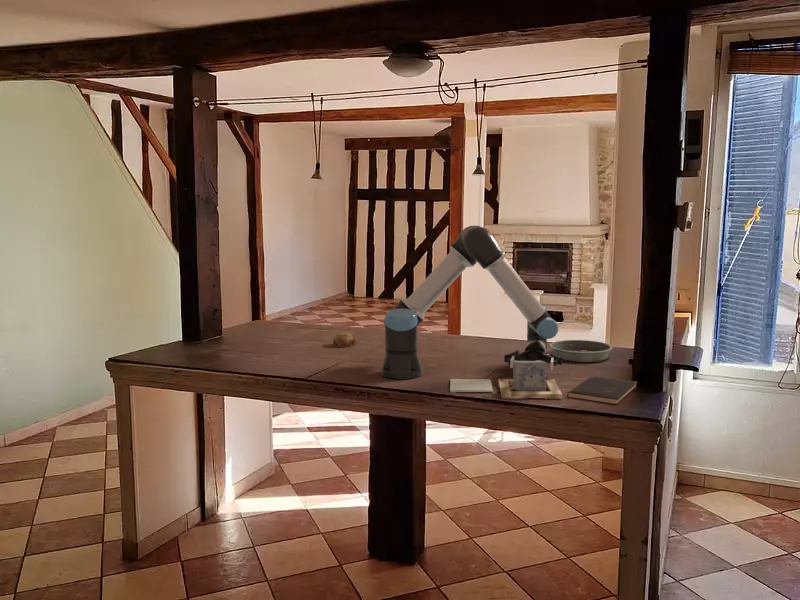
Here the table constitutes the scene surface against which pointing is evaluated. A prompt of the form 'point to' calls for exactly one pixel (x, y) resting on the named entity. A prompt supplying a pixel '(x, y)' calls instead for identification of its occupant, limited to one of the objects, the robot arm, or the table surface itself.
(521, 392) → the frame
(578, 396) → the hardcover book
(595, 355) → the cake pan
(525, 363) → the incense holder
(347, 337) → the bread roll
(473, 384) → the sage tile
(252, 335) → the table surface
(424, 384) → the table surface
